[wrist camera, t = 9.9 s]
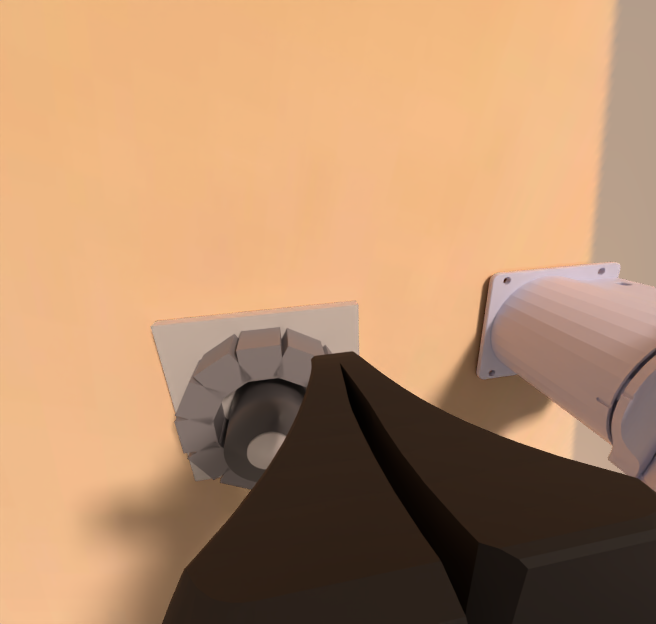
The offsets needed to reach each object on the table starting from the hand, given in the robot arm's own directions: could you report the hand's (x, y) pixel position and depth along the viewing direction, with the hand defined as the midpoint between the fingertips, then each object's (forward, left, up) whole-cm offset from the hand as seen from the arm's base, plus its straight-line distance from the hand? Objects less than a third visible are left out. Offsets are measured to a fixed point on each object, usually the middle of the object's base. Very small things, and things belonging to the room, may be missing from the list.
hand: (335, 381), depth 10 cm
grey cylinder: (+3, +7, -9) cm, 12 cm away
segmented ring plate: (+3, +7, -10) cm, 12 cm away
